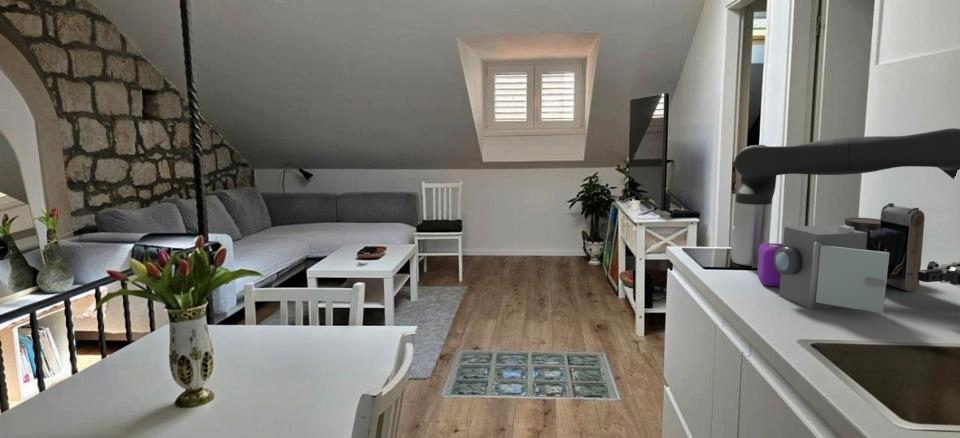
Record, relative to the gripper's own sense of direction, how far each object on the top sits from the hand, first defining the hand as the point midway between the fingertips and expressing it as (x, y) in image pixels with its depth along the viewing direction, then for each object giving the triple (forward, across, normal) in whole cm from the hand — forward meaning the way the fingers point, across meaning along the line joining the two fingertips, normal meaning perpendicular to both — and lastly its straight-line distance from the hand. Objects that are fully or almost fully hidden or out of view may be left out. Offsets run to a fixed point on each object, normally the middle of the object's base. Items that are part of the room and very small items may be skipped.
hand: (921, 276), depth 118 cm
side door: (+14, -3, +7) cm, 16 cm away
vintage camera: (-10, -21, +9) cm, 24 cm away
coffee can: (-19, -34, +9) cm, 39 cm away
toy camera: (+9, -30, +8) cm, 32 cm away
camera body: (+13, -14, +8) cm, 20 cm away
